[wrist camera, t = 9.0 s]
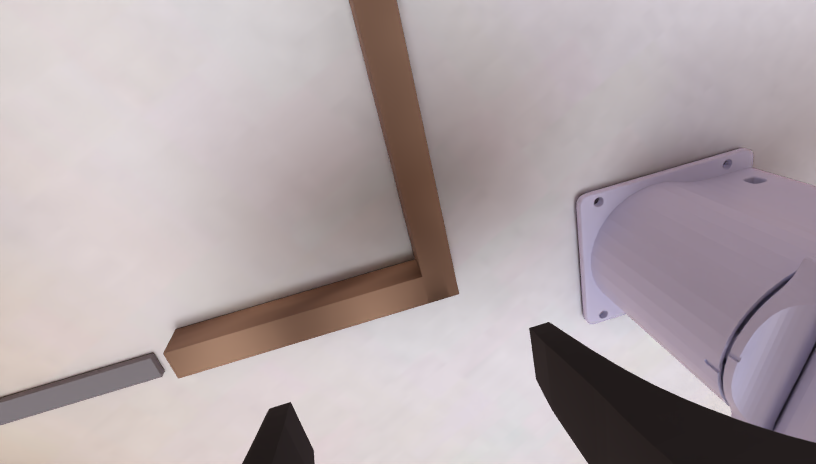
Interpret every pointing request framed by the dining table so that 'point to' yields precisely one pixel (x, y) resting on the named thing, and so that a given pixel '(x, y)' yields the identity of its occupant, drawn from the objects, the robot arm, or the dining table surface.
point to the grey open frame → (79, 388)
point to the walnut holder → (365, 292)
